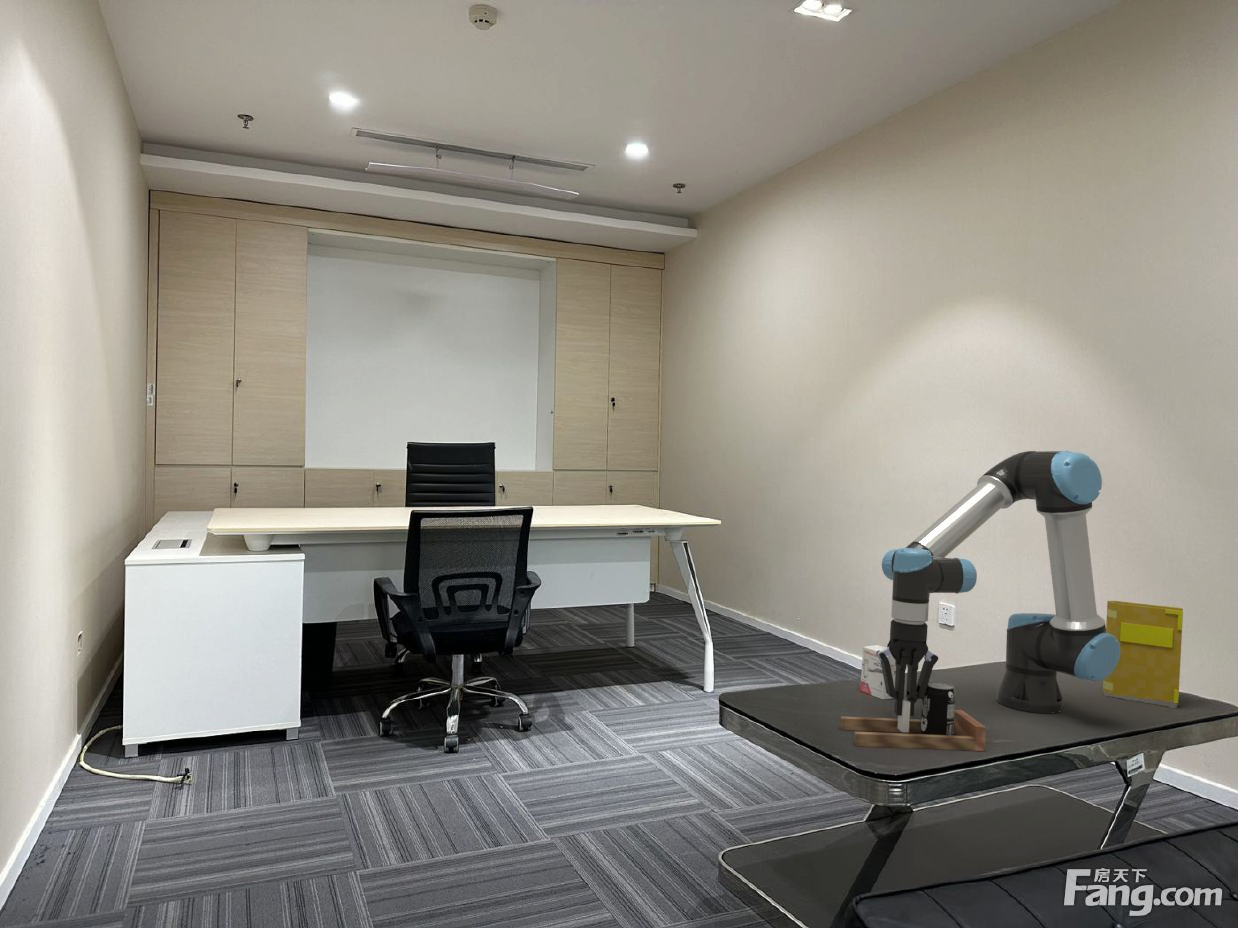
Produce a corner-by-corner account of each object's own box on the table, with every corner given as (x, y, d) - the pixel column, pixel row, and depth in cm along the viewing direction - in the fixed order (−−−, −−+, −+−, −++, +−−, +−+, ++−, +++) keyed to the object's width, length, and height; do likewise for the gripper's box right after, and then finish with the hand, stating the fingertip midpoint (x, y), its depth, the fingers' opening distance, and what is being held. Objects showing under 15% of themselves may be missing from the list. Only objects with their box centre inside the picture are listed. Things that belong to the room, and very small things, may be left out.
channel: (960, 732, 190) (961, 709, 190) (984, 750, 178) (985, 727, 178) (839, 727, 190) (840, 704, 190) (855, 745, 178) (856, 721, 178)
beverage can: (914, 734, 187) (918, 679, 187) (943, 735, 188) (946, 680, 188) (929, 744, 180) (932, 688, 180) (958, 745, 181) (961, 688, 181)
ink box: (859, 690, 222) (861, 645, 222) (873, 689, 224) (875, 644, 224) (883, 700, 214) (885, 652, 214) (897, 698, 216) (900, 651, 216)
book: (1177, 703, 224) (1182, 608, 224) (1178, 708, 219) (1183, 611, 218) (1103, 691, 233) (1108, 599, 233) (1102, 696, 228) (1106, 602, 227)
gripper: (932, 618, 188) (926, 726, 188) (873, 615, 187) (867, 723, 187) (946, 625, 180) (940, 737, 180) (885, 622, 180) (878, 734, 180)
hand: (903, 730), depth 184 cm, fingers closed
